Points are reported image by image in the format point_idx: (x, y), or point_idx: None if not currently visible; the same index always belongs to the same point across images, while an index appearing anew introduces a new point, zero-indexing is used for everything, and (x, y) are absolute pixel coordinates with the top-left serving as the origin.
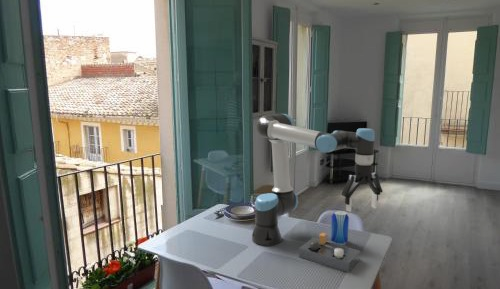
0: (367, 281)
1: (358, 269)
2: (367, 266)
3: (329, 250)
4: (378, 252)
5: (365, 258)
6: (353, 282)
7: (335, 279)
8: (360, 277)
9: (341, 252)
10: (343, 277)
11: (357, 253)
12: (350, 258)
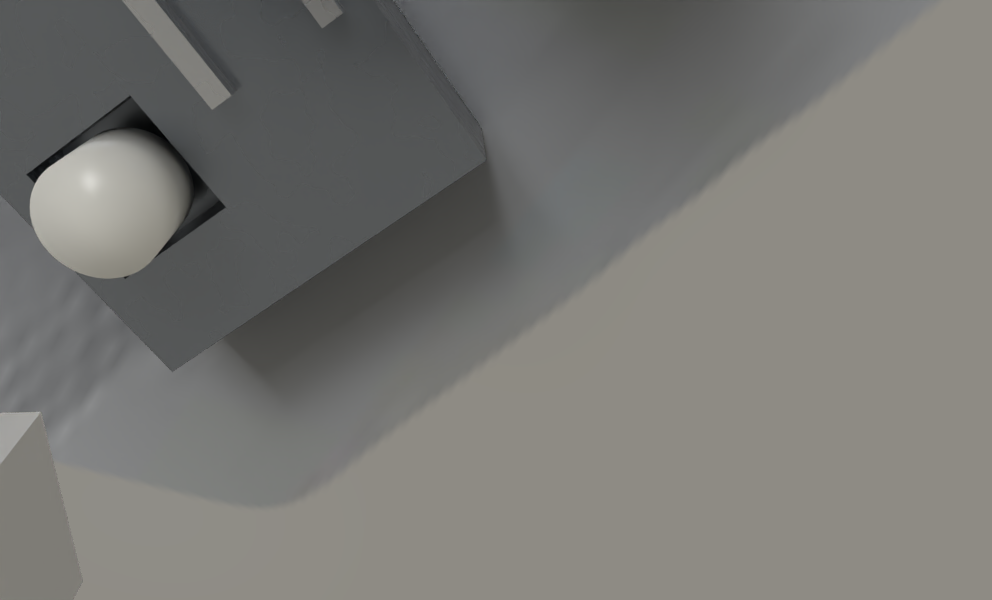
0: (302, 482)
1: (342, 294)
2: (472, 273)
3: (60, 4)
4: (831, 38)
5: (571, 117)
6: (167, 461)
7: (15, 378)
8: (277, 416)
9: (109, 275)
10: (111, 371)
11: (405, 209)
12: (246, 289)
